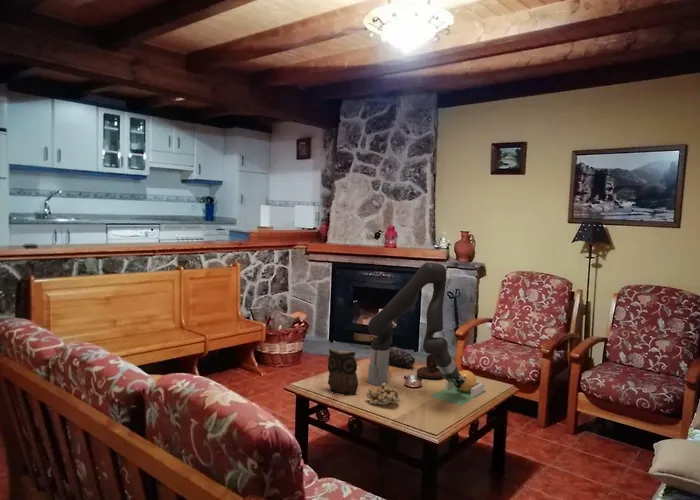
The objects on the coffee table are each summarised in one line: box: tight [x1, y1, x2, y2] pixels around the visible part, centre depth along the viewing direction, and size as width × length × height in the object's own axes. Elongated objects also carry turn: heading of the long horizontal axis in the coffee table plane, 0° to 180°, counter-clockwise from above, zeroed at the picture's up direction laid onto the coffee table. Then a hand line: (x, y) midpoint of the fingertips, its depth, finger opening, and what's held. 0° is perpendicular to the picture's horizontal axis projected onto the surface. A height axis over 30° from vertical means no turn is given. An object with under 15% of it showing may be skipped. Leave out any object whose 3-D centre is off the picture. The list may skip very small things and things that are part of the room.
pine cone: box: [389, 346, 416, 371], centre depth 284 cm, size 10×18×10 cm, turn 59°
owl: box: [327, 348, 359, 396], centre depth 239 cm, size 13×13×20 cm
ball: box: [458, 369, 477, 392], centre depth 247 cm, size 10×10×10 cm
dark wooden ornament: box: [416, 336, 444, 381], centre depth 267 cm, size 15×15×20 cm
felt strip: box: [429, 386, 487, 407], centre depth 243 cm, size 26×16×1 cm, turn 140°
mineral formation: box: [365, 383, 401, 407], centre depth 227 cm, size 8×13×15 cm
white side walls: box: [444, 380, 485, 398], centre depth 248 cm, size 12×14×4 cm
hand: (458, 386), depth 243 cm, fingers closed
